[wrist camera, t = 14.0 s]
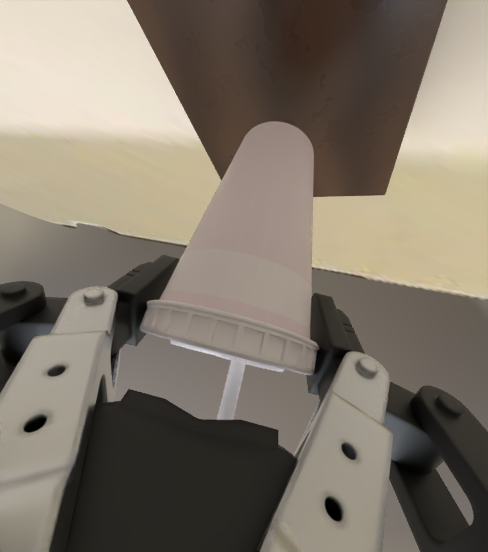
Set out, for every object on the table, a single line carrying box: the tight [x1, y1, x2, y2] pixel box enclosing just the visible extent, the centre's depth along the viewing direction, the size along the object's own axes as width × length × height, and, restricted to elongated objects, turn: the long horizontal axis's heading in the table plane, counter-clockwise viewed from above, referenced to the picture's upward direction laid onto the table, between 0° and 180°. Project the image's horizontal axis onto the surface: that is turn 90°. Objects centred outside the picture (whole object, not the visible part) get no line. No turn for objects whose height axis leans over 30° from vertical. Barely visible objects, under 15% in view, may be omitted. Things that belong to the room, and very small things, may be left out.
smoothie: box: [139, 121, 319, 420], centre depth 9 cm, size 6×6×14 cm
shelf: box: [127, 0, 447, 197], centre depth 16 cm, size 14×16×10 cm
